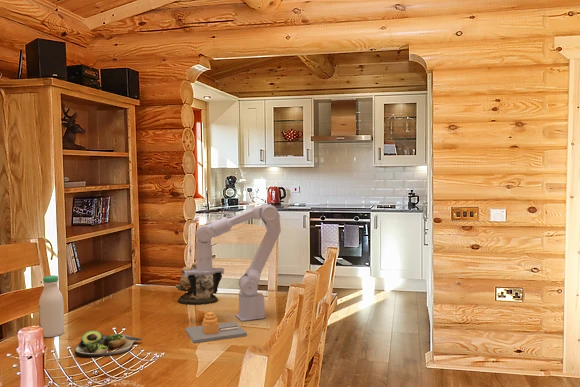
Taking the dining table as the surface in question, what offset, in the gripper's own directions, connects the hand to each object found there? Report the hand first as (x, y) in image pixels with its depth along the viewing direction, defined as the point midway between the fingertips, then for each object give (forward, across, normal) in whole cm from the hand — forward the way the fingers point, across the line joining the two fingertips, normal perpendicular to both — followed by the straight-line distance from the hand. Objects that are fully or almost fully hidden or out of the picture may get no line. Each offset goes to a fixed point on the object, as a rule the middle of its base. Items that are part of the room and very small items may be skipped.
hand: (204, 294), depth 182 cm
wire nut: (+9, -2, -17) cm, 19 cm away
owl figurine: (+10, +3, +29) cm, 31 cm away
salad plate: (+10, -36, -15) cm, 40 cm away
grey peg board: (+10, 0, -16) cm, 19 cm away
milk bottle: (+10, -52, +6) cm, 53 cm away
